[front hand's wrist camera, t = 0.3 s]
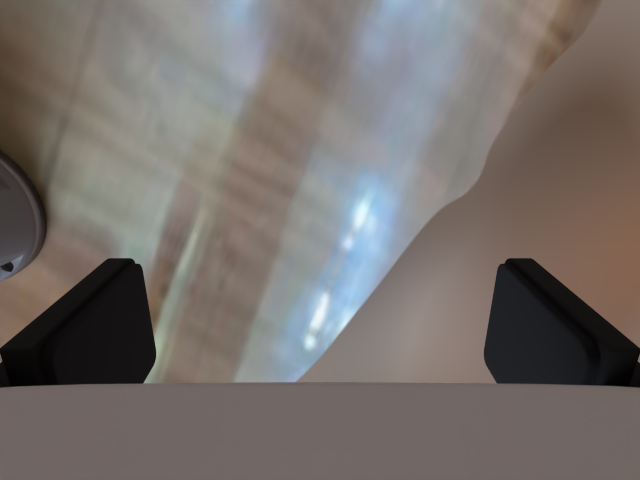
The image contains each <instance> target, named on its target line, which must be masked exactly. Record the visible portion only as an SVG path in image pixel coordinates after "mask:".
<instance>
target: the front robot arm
mask: <svg viewBox="0 0 640 480" xmlns="http://www.w3.org/2000/svg"><path fill="white" fill-rule="evenodd" d="M0 355H1V358H2V362H1V363H0V480H640V363H639V362H638V358H639V355H640V348H639V347H637V346H636V345H635V344H634V343H633V342H632V341H630V340H629V339H628V338H627V337H626V336H624V335H623V334H622V333H621V332H620V331H618V330H617V329H616V328H615V327H614V326H612V325H611V324H610V323H609V322H608V321H606V320H605V319H604V318H603V317H602V316H600V315H599V314H598V313H597V312H596V311H594V310H593V309H592V308H591V307H590V306H588V305H587V304H586V303H585V302H584V301H582V300H581V299H580V298H579V297H578V296H576V295H575V294H574V293H573V292H572V291H570V290H569V289H568V288H567V287H566V286H564V285H563V284H562V283H561V282H560V281H558V280H557V279H556V278H555V277H554V276H552V275H551V274H550V273H549V272H548V271H546V270H545V269H544V268H543V267H542V266H540V265H539V264H538V263H537V262H536V261H534V260H533V259H531V258H510V259H507V260H506V262H505V264H500V265H499V267H498V270H497V276H496V281H495V287H494V293H493V299H492V305H491V311H490V318H489V323H488V329H487V335H486V342H485V348H484V359H485V363H486V365H487V367H488V369H489V371H490V372H491V374H492V376H493V377H494V379H495V381H496V382H497V384H486V383H357V382H356V383H354V382H352V383H351V382H338V383H337V382H332V383H331V382H303V383H301V382H298V383H156V384H143V383H144V381H145V379H146V377H147V376H148V374H149V372H150V371H151V369H152V367H153V365H154V363H155V360H156V347H155V341H154V335H153V329H152V323H151V317H150V311H149V305H148V299H147V293H146V287H145V281H144V275H143V270H142V267H141V265H140V264H135V262H134V260H133V259H130V258H109V259H107V260H106V261H104V262H103V263H102V264H101V265H100V266H98V267H97V268H96V269H95V270H94V271H92V272H91V273H90V274H89V275H88V276H86V277H85V278H84V279H83V280H82V281H80V282H79V283H78V284H77V285H76V286H74V287H73V288H72V289H71V290H70V291H68V292H67V293H66V294H65V295H64V296H62V297H61V298H60V299H59V300H58V301H56V302H55V303H54V304H53V305H52V306H50V307H49V308H48V309H47V310H46V311H44V312H43V313H42V314H41V315H40V316H38V317H37V318H36V319H35V320H34V321H32V322H31V323H30V324H29V325H28V326H26V327H25V328H24V329H23V330H22V331H20V332H19V333H18V334H17V335H16V336H14V337H13V338H12V339H11V340H10V341H8V342H7V343H6V344H5V345H4V346H2V347H1V348H0Z"/></svg>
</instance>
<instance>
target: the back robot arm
mask: <svg viewBox="0 0 640 480" xmlns="http://www.w3.org/2000/svg"><path fill="white" fill-rule="evenodd" d="M44 237H45V215H44V210H43V207H42V204H41V201H40V198H39V196H38V194H37V192H36V190H35V188H34V186H33V185H32V183H31V182H30V180H29V179H28V178H27V176H26V175H25V174H24V172H23V171H22V170H21V169H20V168H19V167H18V166H17V165H16V164H15V163H14V162H13V161H12V160H11V159H9V158H8V157H7V156H6V155H4V154H3V153H1V152H0V281H2V280H5V279H7V278H9V277H11V276H13V275H15V274H16V273H18V272H19V271H21V270H22V269H24V268H25V267H27V266H28V265H29V264H30V263H31V262H32V261H33V260H34V259H35V258H36V256H37V255H38V253H39V251H40V249H41V247H42V245H43V242H44Z"/></svg>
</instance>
